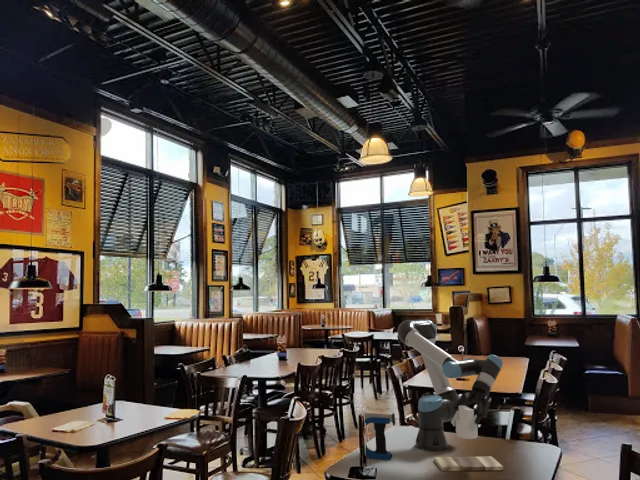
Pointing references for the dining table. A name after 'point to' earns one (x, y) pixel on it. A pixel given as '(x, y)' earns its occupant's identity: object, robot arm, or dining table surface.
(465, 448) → the dining table surface
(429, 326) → the robot arm
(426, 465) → the dining table surface
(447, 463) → the pine board
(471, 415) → the base with upright slab
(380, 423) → the cordless power drill
